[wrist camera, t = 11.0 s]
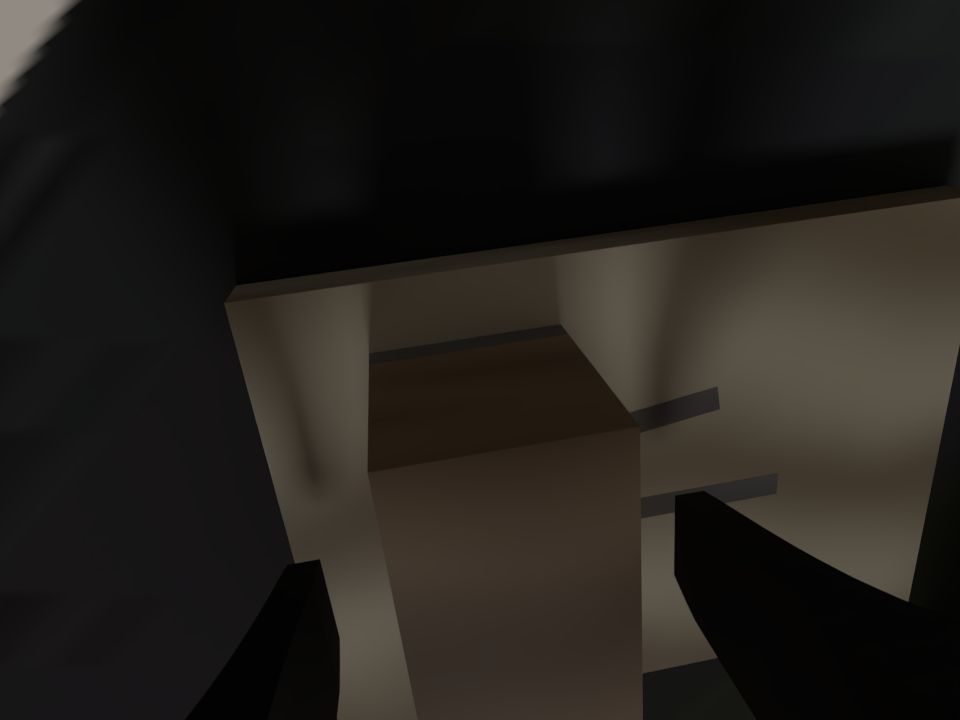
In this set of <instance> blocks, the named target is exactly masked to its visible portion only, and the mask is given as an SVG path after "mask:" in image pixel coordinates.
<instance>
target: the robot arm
mask: <svg viewBox="0 0 960 720" xmlns="http://www.w3.org/2000/svg"><path fill="white" fill-rule="evenodd" d="M674 576H675V578H676V581H677V583H678V585H679V587H680V590H681V592H682V594H683V596H684V599H685V601H686V603H687V605H688V607H689V609H690V611H691V613H692V615H693V618H694V620H695V621H696V623H697V625H698V626H699V628H700V630H701V631H702V633H703V635H704V636H705V638H706V639H707V641H708V643H709V644H710V646H711V648H712V649H713V651H714V652H715V654H716V656H717V657H718V659H719V660H720V662H721V664H722V665H723V667H724V668H725V670H726V672H727V673H728V675H729V676H730V678H731V680H732V681H733V683H734V684H735V686H736V688H737V689H738V691H739V692H740V694H741V696H742V697H743V699H744V700H745V702H746V703H747V705H748V707H749V708H750V710H751V711H752V713H753V715H754V716H755V718H756V720H960V621H957V620H954V619H952V618H949V617H946V616H944V615H941V614H938V613H936V612H933V611H930V610H928V609H925V608H922V607H920V606H917V605H915V604H912V603H910V602H907V601H905V600H902V599H900V598H898V597H896V596H893V595H891V594H889V593H887V592H884V591H882V590H880V589H878V588H875V587H873V586H871V585H869V584H867V583H864V582H862V581H860V580H858V579H856V578H854V577H852V576H850V575H848V574H846V573H844V572H842V571H840V570H838V569H836V568H834V567H832V566H830V565H829V564H827V563H825V562H823V561H821V560H819V559H817V558H815V557H813V556H812V555H810V554H808V553H806V552H805V551H803V550H801V549H799V548H797V547H796V546H794V545H792V544H791V543H789V542H787V541H785V540H784V539H782V538H780V537H779V536H777V535H775V534H774V533H772V532H770V531H769V530H767V529H765V528H764V527H762V526H760V525H759V524H757V523H756V522H754V521H752V520H751V519H749V518H748V517H746V516H744V515H743V514H741V513H740V512H738V511H736V510H735V509H733V508H732V507H730V506H728V505H727V504H725V503H724V502H722V501H720V500H719V499H717V498H715V497H714V496H712V495H710V494H709V493H707V492H705V491H698V492H693V493H687V494H682V495H676V496H675V535H674ZM339 693H340V637H339V633H338V629H337V625H336V621H335V617H334V613H333V609H332V605H331V601H330V597H329V593H328V589H327V585H326V581H325V577H324V573H323V569H322V566H321V562H320V559H318V560H312V561H306V562H301V563H295V564H290V565H288V566H287V567H286V568H285V570H284V571H283V573H282V574H281V576H280V578H279V580H278V582H277V583H276V585H275V587H274V589H273V590H272V592H271V594H270V596H269V597H268V599H267V601H266V602H265V604H264V606H263V607H262V609H261V611H260V612H259V614H258V616H257V617H256V619H255V621H254V622H253V624H252V625H251V627H250V629H249V630H248V632H247V633H246V635H245V636H244V638H243V640H242V641H241V643H240V644H239V646H238V647H237V649H236V651H235V652H234V654H233V655H232V657H231V658H230V659H229V661H228V662H227V664H226V665H225V666H224V668H223V669H222V671H221V672H220V674H219V675H218V676H217V678H216V679H215V681H214V682H213V683H212V685H211V686H210V688H209V689H208V690H207V692H206V693H205V695H204V696H203V697H202V698H201V700H200V701H199V702H198V704H197V705H196V706H195V708H194V709H193V710H192V711H191V713H190V714H189V715H188V716H187V718H186V719H185V720H337V712H338V703H339Z"/></svg>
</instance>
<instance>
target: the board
mask: <svg viewBox="0 0 960 720" xmlns="http://www.w3.org/2000/svg"><path fill="white" fill-rule="evenodd" d="M224 305H225V308H226V312H227V316H228V319H229V323H230V327H231V330H232V334H233V338H234V341H235V345H236V349H237V352H238V356H239V360H240V363H241V367H242V371H243V374H244V378H245V382H246V385H247V389H248V393H249V396H250V400H251V404H252V407H253V411H254V415H255V418H256V422H257V426H258V429H259V433H260V437H261V440H262V444H263V448H264V451H265V455H266V459H267V462H268V466H269V470H270V473H271V477H272V481H273V484H274V488H275V492H276V495H277V499H278V503H279V506H280V510H281V514H282V517H283V521H284V524H285V528H286V532H287V535H288V539H289V543H290V546H291V550H292V554H293V557H294V561H295V563H301V562H306V561H312V560H318V559H320V562H321V566H322V569H323V573H324V577H325V581H326V585H327V589H328V593H329V597H330V601H331V605H332V609H333V613H334V617H335V621H336V625H337V629H338V633H339V637H340V693H339V703H338V712H337V719H338V720H418V719H417V714H416V709H415V704H414V699H413V694H412V689H411V684H410V679H409V675H408V670H407V665H406V660H405V655H404V650H403V645H402V640H401V635H400V630H399V625H398V621H397V616H396V611H395V606H394V601H393V596H392V591H391V586H390V581H389V576H388V571H387V567H386V562H385V557H384V552H383V547H382V542H381V537H380V532H379V527H378V522H377V517H376V512H375V508H374V503H373V498H372V493H371V488H370V483H369V478H368V473H367V467H368V390H369V353H376V352H382V351H389V350H395V349H402V348H408V347H415V346H421V345H428V344H434V343H441V342H448V341H454V340H461V339H467V338H474V337H480V336H487V335H493V334H500V333H506V332H513V331H519V330H526V329H533V328H539V327H546V326H552V325H559V324H561V325H562V326H563V328H564V329H565V330H566V332H567V333H568V334H569V335H570V337H571V338H572V339H573V341H574V342H575V343H576V344H577V346H578V347H579V348H580V350H581V351H582V352H583V353H584V355H585V356H586V357H587V359H588V360H589V361H590V362H591V364H592V365H593V366H594V368H595V369H596V370H597V371H598V373H599V374H600V375H601V377H602V378H603V379H604V381H605V382H606V383H607V384H608V386H609V387H610V388H611V390H612V391H613V392H614V393H615V395H616V396H617V397H618V399H619V400H620V401H621V402H622V404H623V405H624V406H625V408H626V409H627V410H628V411H629V413H630V414H631V415H632V417H633V418H634V419H635V420H636V422H637V423H638V424H639V426H640V467H641V576H642V673H646V672H651V671H656V670H661V669H666V668H670V667H675V666H680V665H685V664H690V663H695V662H699V661H704V660H709V659H714V658H718V657H717V656H716V654H715V652H714V651H713V649H712V648H711V646H710V644H709V643H708V641H707V639H706V638H705V636H704V635H703V633H702V631H701V630H700V628H699V626H698V625H697V623H696V621H695V620H694V618H693V615H692V613H691V611H690V609H689V607H688V605H687V603H686V601H685V599H684V596H683V594H682V592H681V590H680V587H679V585H678V583H677V581H676V578H675V576H674V535H675V496H676V495H682V494H687V493H693V492H698V491H705V492H707V493H709V494H710V495H712V496H714V497H715V498H717V499H719V500H720V501H722V502H724V503H725V504H727V505H728V506H730V507H732V508H733V509H735V510H736V511H738V512H740V513H741V514H743V515H744V516H746V517H748V518H749V519H751V520H752V521H754V522H756V523H757V524H759V525H760V526H762V527H764V528H765V529H767V530H769V531H770V532H772V533H774V534H775V535H777V536H779V537H780V538H782V539H784V540H785V541H787V542H789V543H791V544H792V545H794V546H796V547H797V548H799V549H801V550H803V551H805V552H806V553H808V554H810V555H812V556H813V557H815V558H817V559H819V560H821V561H823V562H825V563H827V564H829V565H830V566H832V567H834V568H836V569H838V570H840V571H842V572H844V573H846V574H848V575H850V576H852V577H854V578H856V579H858V580H860V581H862V582H864V583H867V584H869V585H871V586H873V587H875V588H878V589H880V590H882V591H884V592H887V593H889V594H891V595H893V596H896V597H898V598H900V599H902V600H905V601H907V602H908V601H909V596H910V591H911V586H912V581H913V576H914V571H915V566H916V561H917V556H918V551H919V546H920V541H921V536H922V531H923V526H924V521H925V516H926V511H927V505H928V500H929V495H930V490H931V485H932V480H933V475H934V470H935V465H936V460H937V455H938V450H939V445H940V440H941V435H942V430H943V425H944V420H945V415H946V410H947V405H948V400H949V395H950V390H951V385H952V380H953V375H954V370H955V365H956V360H957V355H958V350H959V345H960V188H956V187H951V186H939V187H932V188H925V189H918V190H910V191H903V192H896V193H889V194H882V195H875V196H868V197H861V198H854V199H847V200H839V201H832V202H825V203H818V204H811V205H804V206H797V207H790V208H783V209H776V210H769V211H761V212H754V213H747V214H740V215H733V216H726V217H719V218H712V219H705V220H698V221H690V222H683V223H676V224H669V225H662V226H655V227H648V228H641V229H634V230H627V231H619V232H612V233H605V234H598V235H591V236H584V237H577V238H570V239H563V240H556V241H549V242H541V243H534V244H527V245H520V246H513V247H506V248H499V249H492V250H485V251H478V252H470V253H463V254H456V255H449V256H442V257H435V258H428V259H421V260H414V261H407V262H399V263H392V264H385V265H378V266H371V267H364V268H357V269H350V270H343V271H336V272H329V273H321V274H314V275H307V276H300V277H293V278H286V279H279V280H272V281H265V282H258V283H250V284H243V285H236V286H235V288H234V289H233V291H232V292H231V294H230V295H229V297H228V298H227V300H226V301H225V303H224Z"/></svg>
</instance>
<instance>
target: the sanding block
mask: <svg viewBox="0 0 960 720" xmlns="http://www.w3.org/2000/svg"><path fill="white" fill-rule="evenodd" d="M367 473H368V478H369V483H370V488H371V493H372V498H373V503H374V508H375V512H376V517H377V522H378V527H379V532H380V537H381V542H382V547H383V552H384V557H385V562H386V567H387V571H388V576H389V581H390V586H391V591H392V596H393V601H394V606H395V611H396V616H397V621H398V625H399V630H400V635H401V640H402V645H403V650H404V655H405V660H406V665H407V670H408V675H409V679H410V684H411V689H412V694H413V699H414V704H415V709H416V714H417V719H418V720H643V685H642V576H641V467H640V426H639V424H638V423H637V422H636V420H635V419H634V418H633V417H632V415H631V414H630V413H629V411H628V410H627V409H626V408H625V406H624V405H623V404H622V402H621V401H620V400H619V399H618V397H617V396H616V395H615V393H614V392H613V391H612V390H611V388H610V387H609V386H608V384H607V383H606V382H605V381H604V379H603V378H602V377H601V375H600V374H599V373H598V371H597V370H596V369H595V368H594V366H593V365H592V364H591V362H590V361H589V360H588V359H587V357H586V356H585V355H584V353H583V352H582V351H581V350H580V348H579V347H578V346H577V344H576V343H575V342H574V341H573V339H572V338H571V337H570V335H569V334H568V333H567V332H566V330H565V329H564V328H563V326H562V325H561V324H559V325H552V326H546V327H539V328H533V329H526V330H519V331H513V332H506V333H500V334H493V335H487V336H480V337H474V338H467V339H461V340H454V341H448V342H441V343H434V344H428V345H421V346H415V347H408V348H402V349H395V350H389V351H382V352H376V353H369V390H368V467H367Z"/></svg>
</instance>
